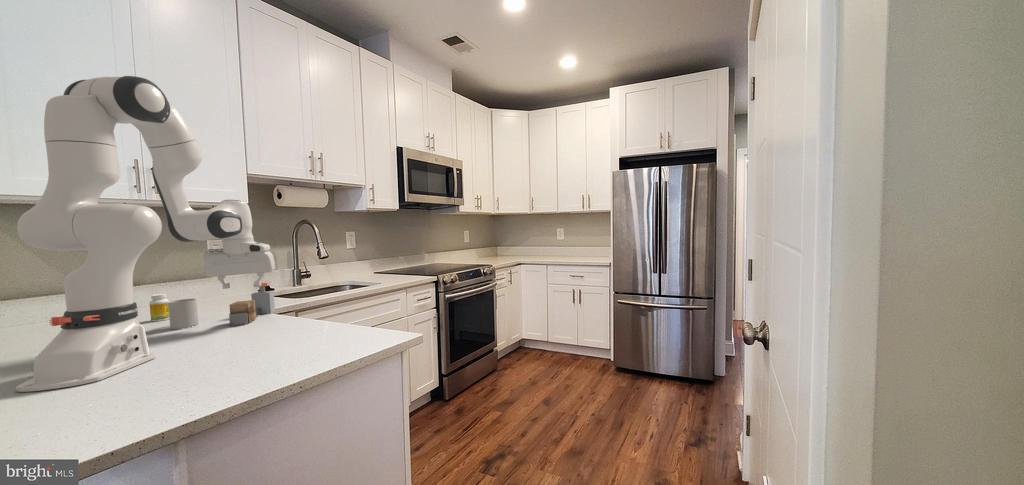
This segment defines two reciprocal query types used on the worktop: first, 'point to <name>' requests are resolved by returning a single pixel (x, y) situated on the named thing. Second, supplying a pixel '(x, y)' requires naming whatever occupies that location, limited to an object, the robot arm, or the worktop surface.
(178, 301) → the cup
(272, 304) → the gauge cabinet
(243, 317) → the rail
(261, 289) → the plunger
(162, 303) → the supplement bottle
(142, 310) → the worktop surface
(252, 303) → the carriage
